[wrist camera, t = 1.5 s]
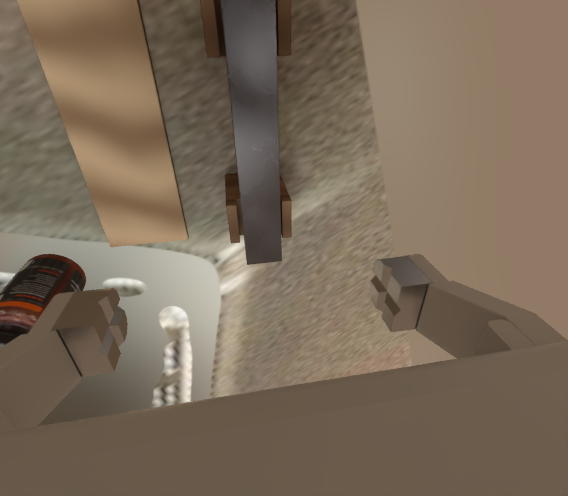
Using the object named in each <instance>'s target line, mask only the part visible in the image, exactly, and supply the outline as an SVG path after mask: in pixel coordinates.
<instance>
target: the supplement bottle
mask: <svg viewBox="0 0 568 496" xmlns="http://www.w3.org/2000/svg"><path fill="white" fill-rule="evenodd" d="M85 283H86V276H85V273H84V271H83V270H82V269H81V267H80V266H79V265H78V264H76V263H75V262H74V261H72V260H70V259H68V258H66V257H64V256H60V255H54V254H43V255H39V256H36V257H33V258H32V259H30V260H29V261H28V262H27V263H26V264H25V265H24V266H23V267H22V268H21V269H20V270H19V272H18V273H17V274H16V275H15V276H14V277H13V279H12V280H11V281H10V282H9V283H8V284H7V286H6V287H5V288H4V289H3V290H2V292H1V293H0V348H1V347H3V346H4V345H6V344H7V343H9V342H11V341H12V340H14V339H15V338H17V337H18V336H20V335H22V334H28V333H29V331H30V330H31V328H32V327H33V326H34V324H35V323H36V321H37V320H38V318H39V317H40V316H41V314H42V313H43V311H44V310H45V308H46V307H47V306H48V304H49V303H50V301H51V300H52V298H53V297H54V296H55V295H57V294H59V293H67V292H78V291H83V289H84V286H85Z"/></svg>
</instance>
